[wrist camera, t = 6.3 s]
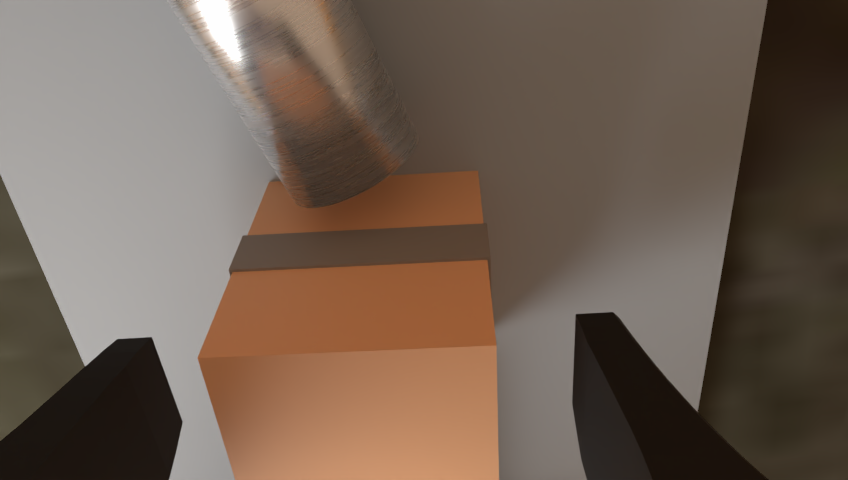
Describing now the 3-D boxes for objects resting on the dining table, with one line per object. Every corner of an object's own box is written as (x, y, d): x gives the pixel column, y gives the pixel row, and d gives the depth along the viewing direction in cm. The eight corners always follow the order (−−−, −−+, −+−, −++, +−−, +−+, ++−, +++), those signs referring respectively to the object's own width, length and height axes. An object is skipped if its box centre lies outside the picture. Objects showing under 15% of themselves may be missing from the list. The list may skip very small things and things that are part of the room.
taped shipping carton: (485, 335, 16) (503, 537, 12) (300, 343, 16) (251, 544, 12) (480, 167, 14) (500, 342, 10) (266, 179, 14) (193, 355, 10)
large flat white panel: (661, 542, 21) (670, 573, 21) (193, 559, 22) (184, 590, 21) (817, -490, 10) (854, -515, 9) (-193, -376, 10) (-249, -390, 10)
